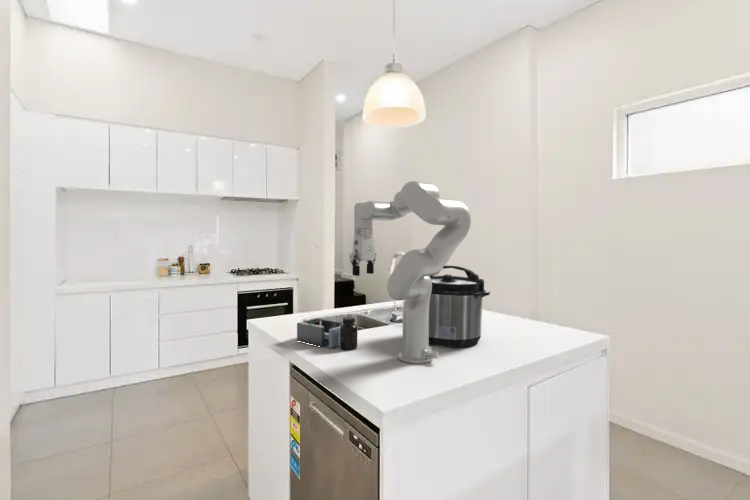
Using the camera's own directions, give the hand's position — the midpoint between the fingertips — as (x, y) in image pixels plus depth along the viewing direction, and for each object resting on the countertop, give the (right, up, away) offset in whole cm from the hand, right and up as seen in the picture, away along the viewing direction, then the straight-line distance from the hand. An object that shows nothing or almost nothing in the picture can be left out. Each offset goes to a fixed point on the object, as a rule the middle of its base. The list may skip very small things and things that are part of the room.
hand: (363, 274), depth 160 cm
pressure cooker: (+37, -28, +6) cm, 47 cm away
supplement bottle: (-5, -29, -7) cm, 30 cm away
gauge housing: (-18, -28, +2) cm, 34 cm away
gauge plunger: (-15, -28, -2) cm, 32 cm away
